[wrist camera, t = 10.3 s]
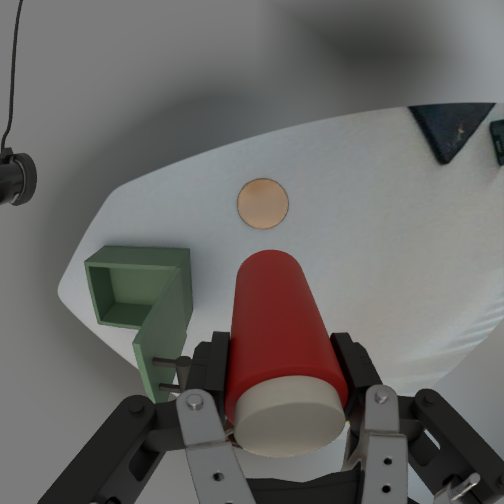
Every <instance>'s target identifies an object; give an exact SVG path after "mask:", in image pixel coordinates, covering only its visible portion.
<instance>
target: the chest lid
mask: <svg viewBox="0 0 504 504" xmlns="http://www.w3.org/2000/svg"><path fill="white" fill-rule="evenodd" d="M186 337H187V334H186V324H185V314H184V304H183V292H182V279H181V268H175V270H174V271H173V273H172V275H171V276H170V278H169V280H168V281H167V283H166V285H165V286H164V288H163V290H162V291H161V293H160V295H159V296H158V298H157V300H156V302H155V303H154V305H153V307H152V309H151V310H150V312H149V314H148V316H147V317H146V319H145V321H144V323H143V324H142V326H141V328H140V330H139V332H138V333H137V335H136V337H135V339H134V341H133V342H132V345H133V349H134V353H135V356H136V360H137V364H138V367H139V371H140V374H141V377H142V381H143V384H144V387H145V390H146V393H147V397H148V398H149V399H151V400H152V402H153V403H163V402H167V400H168V397H169V393H170V392H174V393H182V392H184V390H185V387H186V383H187V378H188V374H189V370H190V366H191V362H192V359H191V358H190V357H188V356H181V353H182V350H183V347H184V344H185V340H186ZM176 372H177V377H178V383H179V385H173V384H172V383H173V380H174V376H175V373H176Z"/></svg>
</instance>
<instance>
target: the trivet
mask: <svg viewBox="0 0 504 504" xmlns="http://www.w3.org/2000/svg"><path fill="white" fill-rule="evenodd" d="M237 207H238V212H239V214H240V216H241V218H242V219H243V220H244V222H246V223H247V224H248V225H250V226H251V227H254V228H257V229H268V228H272V227H274V226H276V225H278V224H279V223H280V222H281V221H282V220H283V219H284V217H285V216H286V213H287V210H288V198H287V195H286V192H285V191H284V189H283V188H282V187H281V186H280V185H279V184H278V183H276V182H274V181H272V180H269V179H257V180H253V181H251V182H249V183H248V184H247V185H245V186H244V187H243V189H242V190H241V192H240V194H239V196H238V201H237Z"/></svg>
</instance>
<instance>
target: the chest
mask: <svg viewBox="0 0 504 504" xmlns="http://www.w3.org/2000/svg"><path fill="white" fill-rule="evenodd" d="M84 265H85V270H86V275H87V280H88V285H89V290H90V294H91V299H92V303H93V307H94V311H95V315H96V318H97V322H98V324H100V325H107V326H114V327H121V328H128V329H136V330H140V328H141V326H142V324H143V323H144V321H145V319H146V317H147V316H148V314H149V312H150V310H151V309H152V307H153V305H154V303H155V302H156V300H157V298H158V296H159V295H160V293H161V291H162V290H163V288H164V286H165V285H166V283H167V281H168V280H169V278H170V276H171V275H172V273H173V271H174V270H175V268H181V279H182V292H183V304H184V314H185V324H186V330H187V327H188V324H189V321H190V318H191V315H192V312H193V301H192V286H191V268H190V249H186V248H154V247H122V246H104V247H103V248H101V249H100V250H99V251H97V252H96V253H95V254H93V255H92V256H91V257H89V258H88V259H87V260H85V261H84Z"/></svg>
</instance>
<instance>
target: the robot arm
mask: <svg viewBox="0 0 504 504" xmlns="http://www.w3.org/2000/svg"><path fill="white" fill-rule="evenodd" d="M22 1H23V0H20V2H19V7H18V12H17V17H16V24H15V32H14V42H13V54H12V70H11V90H10V108H9V121H8V127H7V130H6V132H5V133H4V135H3V138H2V142H1V153H0V205H3V204H6V203H9V202H11V203H10V204H12V203H14V201H16V200H19V199H20V198H21V197H22V196H23V194H24V192H25V189H26V182H27V177H26V171H25V168H24V166H23V164H22V163H21V162H20V161H19V160H16V158H15V156H14V157H12V155H13V152H12V149H11V147H10V148H4V145H5V139H6V136H7V134H8V133H9V131H10V127H11V122H12V114H13V95H14V73H15V57H16V43H17V33H18V32H17V31H18V24H19V17H20V11H21V6H22ZM330 341H331V344H332V346H333V349H334V351H335V354H336V357H337V360H338V362H339V365H340V368H341V370H342V373H343V376H344V379H345V381H346V384H347V387H348V393H349V394H348V400H347V403H346V406H345V408H344V409H343V411H344V415H345V420H346V421H349V423H350V427H349V429H348V432H347V440H346V447H345V454H344V461H343V465H342V468H341V471H340V472H336V473H331V474H328V475H325V476H322V477H319V478H317V479H314V480H311V481H308V482H303V483H302V482H293V481H286V480H280V479H273V478H265V479H264V478H261V479H253V478H250V479H249V478H245V476H244V474H243V471H242V469H241V467H240V464H239V462H238V459H237V456H236V454H235V451H234V449H233V446H232V444H231V442H230V440H228V439H227V437H226V435H225V432H224V429H223V426H222V425H225V419H226V414H225V408H224V399H225V388H226V378H227V367H228V357H229V347H230V332H218V331H214V332H213V336H212V341H211V342H201V343H200V344H199V345H198V346H197V347H196V348H195V350H194V354H193V358H192V362H191V366H190V370H189V374H188V378H187V383H186V387H185V390H184V392H182V393H181V394H180V395H179V396H178V397H177V399H175V400H173V401H170V402H163V403H153V402H152V400H151V399H149V398H148V397H145V396H142V395H133V396H129V397H127V398H125V399H124V400H123V401H122V402H121V403H120V404H119V405H118V406H117V408H116V409H115V410H114V411H113V412H112V414H111V415H110V416H109V417H108V418H107V420H106V421H105V422H104V423H103V424H102V426H101V427H100V428H99V429H98V430H97V432H96V433H95V434H94V435H93V436H92V438H91V439H90V440H89V441H88V442H87V444H86V445H85V446H84V447H83V448H82V450H81V451H80V452H79V453H78V454H77V455H76V457H75V458H74V459H73V460H72V461H71V463H70V464H69V465H68V466H67V468H66V469H65V470H64V471H63V472H62V474H61V475H60V476H59V477H58V478H57V480H56V481H55V482H54V483H53V484H52V486H51V487H50V488H49V489H48V490H47V492H46V493H45V494H44V495H43V496H42V498H41V499H40V500H39V501H38V503H37V504H134V503H135V501H136V499H137V498H138V496H139V495H140V493H141V491H142V490H143V488H144V487H145V485H146V484H147V482H148V480H149V479H150V477H151V476H152V474H153V472H154V471H155V469H156V468H157V466H158V464H159V463H160V461H161V459H162V458H163V456H164V455H165V453H166V451H171V450H179V449H185V452H186V456H187V460H188V464H189V468H190V472H191V476H192V480H193V483H194V486H195V490H196V494H197V497H198V500H199V504H419V503H417V502H416V501H414V500H412V499H411V498H409V497H407V494H408V493H407V492H408V463H409V464H410V465H411V467H412V468H413V469H414V471H415V472H416V473H417V474H418V476H419V477H420V478H421V480H422V481H423V482H424V483H425V485H426V486H427V487H428V489H429V490H430V491H431V493H432V494H433V495H434V503H433V504H493V503H495V502H496V501H498V500H499V499H500V498H502V497H503V496H504V461H503V460H502V459H501V458H500V457H499V456H498V455H497V453H496V452H495V451H494V450H493V449H492V448H491V447H490V446H489V445H488V444H487V443H486V442H485V441H484V439H482V437H481V436H480V435H479V434H478V433H477V432H476V431H475V430H474V429H473V428H472V427H471V426H470V425H469V424H468V423H467V422H466V421H465V420H464V419H463V418H462V417H461V416H460V415H459V413H458V412H457V411H456V410H455V409H454V408H453V407H451V405H450V404H449V403H448V402H447V401H446V400H445V399H444V398H443V397H441V395H440V394H439V393H438V392H436V391H434V390H432V389H421V390H419V391H418V392H417V393H416V395H415V397H407V396H398V395H397V394H396V392H395V391H394V390H393V389H392V388H391V387H389V386H386V385H383V383H382V381H381V379H380V377H379V375H378V373H377V371H376V369H375V367H374V365H373V364H372V361H371V359H370V358H369V355H368V353H367V351H366V349H365V348H364V347H363V346H362V345H360V344H359V343H358V342H354V343H353V341H352V339H351V337H350V335H349V333H347V332H345V333H332V334H331V336H330ZM426 429H427V430H428V431H429V433H430V434H432V436H433V437H434V438H435V439H436V441H437V442H438V443H439V445H440V450H439V449H438V447H437V446H436V445H435V444H434V443H433V442H432V440H430V438H429V437H428V436H427V435H426V434H425V432H424V431H425V430H426Z"/></svg>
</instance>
